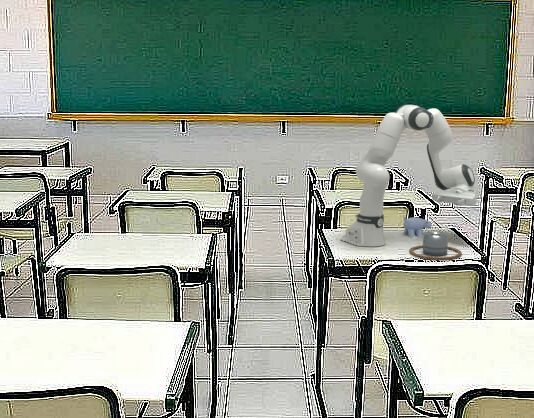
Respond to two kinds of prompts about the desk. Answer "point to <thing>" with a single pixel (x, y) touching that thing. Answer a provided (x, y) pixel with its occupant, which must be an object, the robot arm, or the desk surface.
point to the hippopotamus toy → (415, 226)
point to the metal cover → (435, 243)
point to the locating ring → (435, 257)
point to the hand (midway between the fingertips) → (447, 201)
